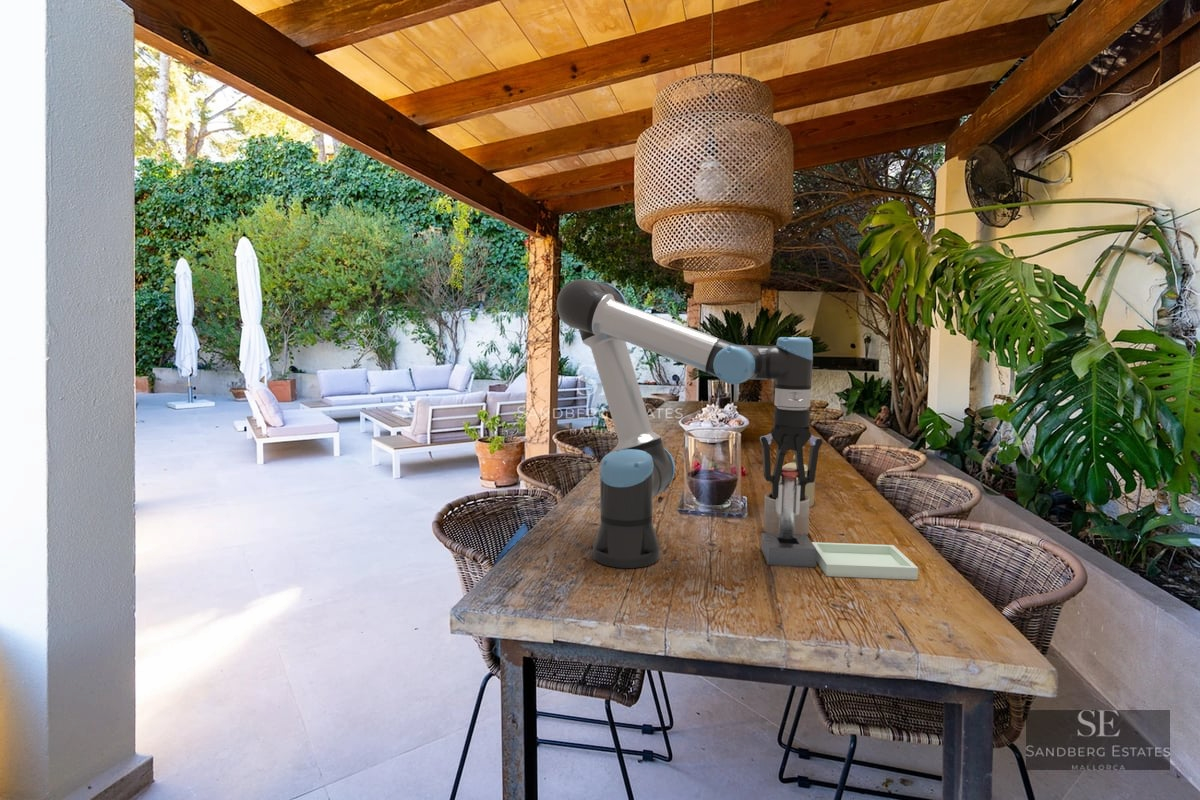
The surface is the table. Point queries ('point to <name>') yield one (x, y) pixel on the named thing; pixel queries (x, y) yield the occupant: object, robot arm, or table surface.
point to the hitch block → (788, 550)
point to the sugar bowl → (809, 486)
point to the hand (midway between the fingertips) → (787, 512)
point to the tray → (864, 561)
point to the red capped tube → (788, 502)
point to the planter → (773, 517)
